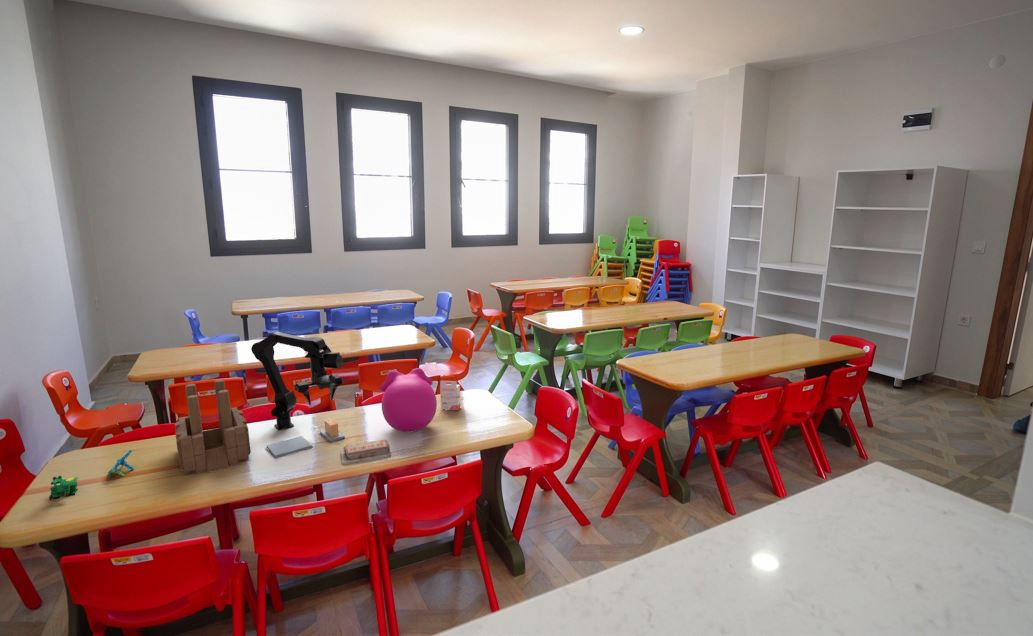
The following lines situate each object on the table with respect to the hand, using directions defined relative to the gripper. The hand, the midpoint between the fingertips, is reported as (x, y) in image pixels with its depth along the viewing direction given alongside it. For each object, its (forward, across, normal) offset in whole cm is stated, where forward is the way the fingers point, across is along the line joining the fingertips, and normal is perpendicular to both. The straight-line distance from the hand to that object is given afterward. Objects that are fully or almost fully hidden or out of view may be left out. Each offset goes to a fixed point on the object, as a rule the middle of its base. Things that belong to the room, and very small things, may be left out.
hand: (320, 402), depth 222 cm
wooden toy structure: (+12, -41, +3) cm, 43 cm away
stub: (+12, 0, -10) cm, 16 cm away
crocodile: (+12, -85, +4) cm, 86 cm away
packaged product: (+13, +3, -36) cm, 39 cm away
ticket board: (+12, -17, -10) cm, 23 cm away
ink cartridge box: (+12, +55, -17) cm, 59 cm away
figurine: (+12, +29, -25) cm, 40 cm away
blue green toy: (+12, -70, +9) cm, 71 cm away
